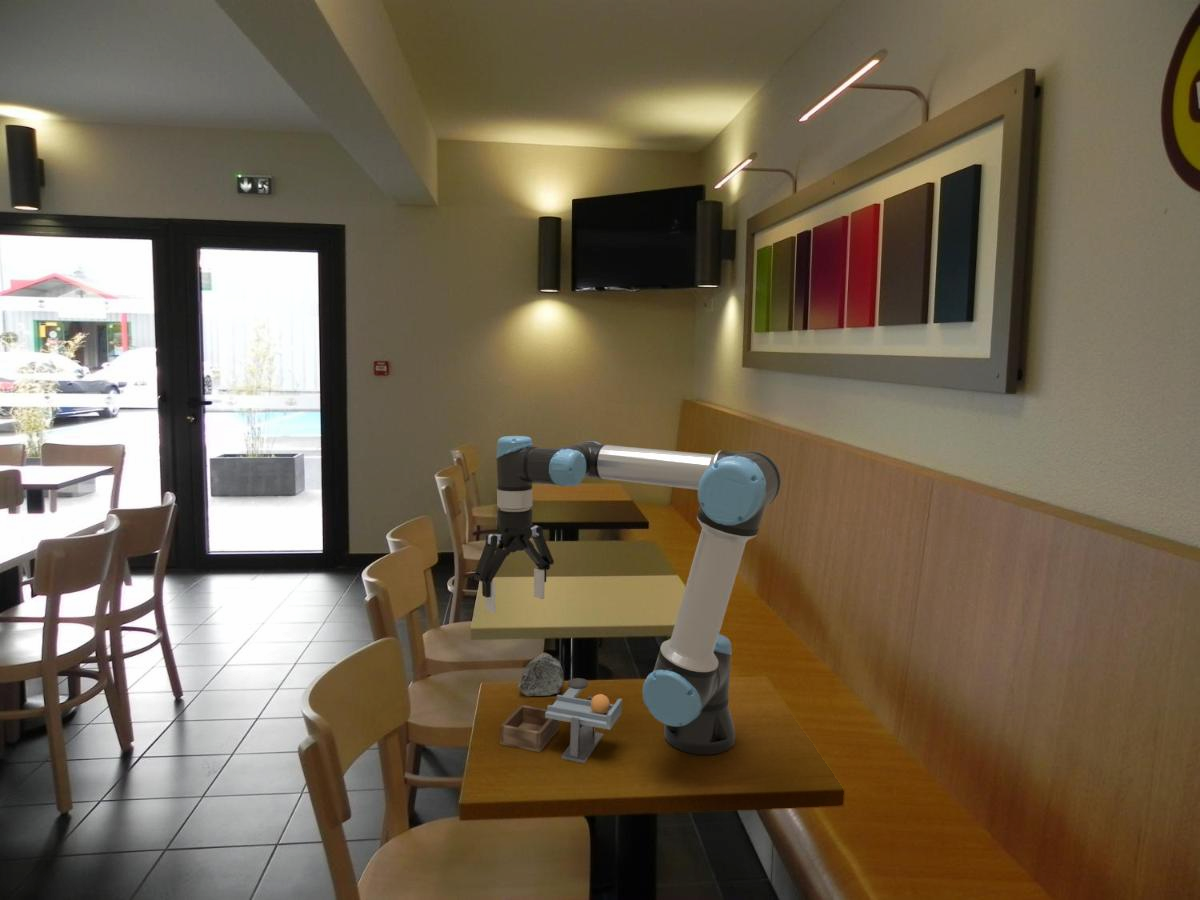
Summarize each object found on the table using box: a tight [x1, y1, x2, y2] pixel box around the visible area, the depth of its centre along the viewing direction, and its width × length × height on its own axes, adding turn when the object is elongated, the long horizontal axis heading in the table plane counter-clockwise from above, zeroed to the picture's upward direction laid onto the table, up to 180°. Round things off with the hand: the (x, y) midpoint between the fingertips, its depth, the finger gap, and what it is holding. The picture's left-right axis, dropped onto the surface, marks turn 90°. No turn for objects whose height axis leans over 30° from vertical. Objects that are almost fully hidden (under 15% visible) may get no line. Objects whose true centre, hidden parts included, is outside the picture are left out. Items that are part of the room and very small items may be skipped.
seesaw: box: [545, 677, 623, 731], centre depth 167 cm, size 15×18×3 cm
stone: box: [517, 652, 565, 697], centre depth 189 cm, size 10×10×10 cm
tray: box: [499, 704, 560, 753], centre depth 167 cm, size 9×11×4 cm
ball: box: [591, 693, 611, 714], centre depth 161 cm, size 4×4×4 cm
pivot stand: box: [560, 695, 604, 764], centre depth 163 cm, size 5×12×9 cm, turn 162°
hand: (515, 604), depth 171 cm, fingers open, 13 cm apart
